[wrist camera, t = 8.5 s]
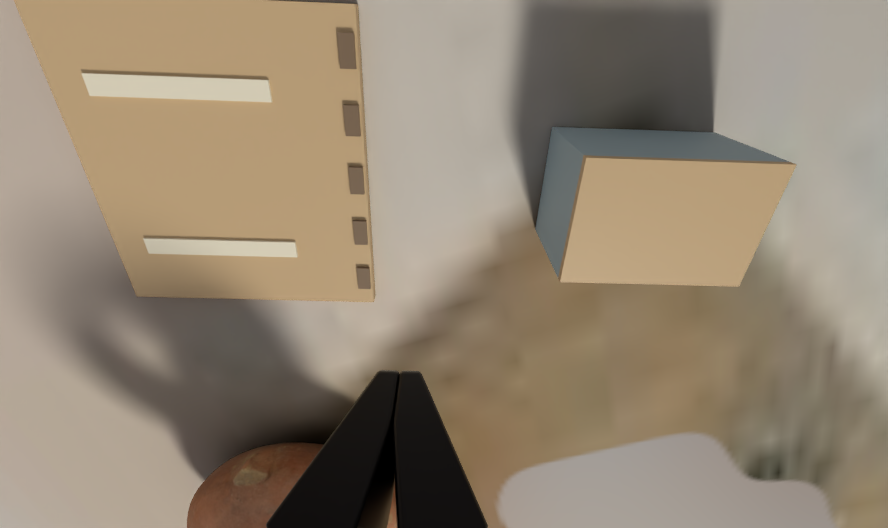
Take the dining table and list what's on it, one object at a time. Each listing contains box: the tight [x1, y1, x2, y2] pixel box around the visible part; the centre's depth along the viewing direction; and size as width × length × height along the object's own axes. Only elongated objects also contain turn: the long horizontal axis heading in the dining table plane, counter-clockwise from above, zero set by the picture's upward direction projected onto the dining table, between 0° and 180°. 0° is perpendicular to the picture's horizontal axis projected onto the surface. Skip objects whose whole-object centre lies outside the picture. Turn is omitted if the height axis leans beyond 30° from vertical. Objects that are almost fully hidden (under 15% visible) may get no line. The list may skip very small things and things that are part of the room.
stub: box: [535, 127, 796, 286], centre depth 17 cm, size 7×5×5 cm
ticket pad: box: [14, 0, 375, 302], centre depth 18 cm, size 12×13×1 cm
